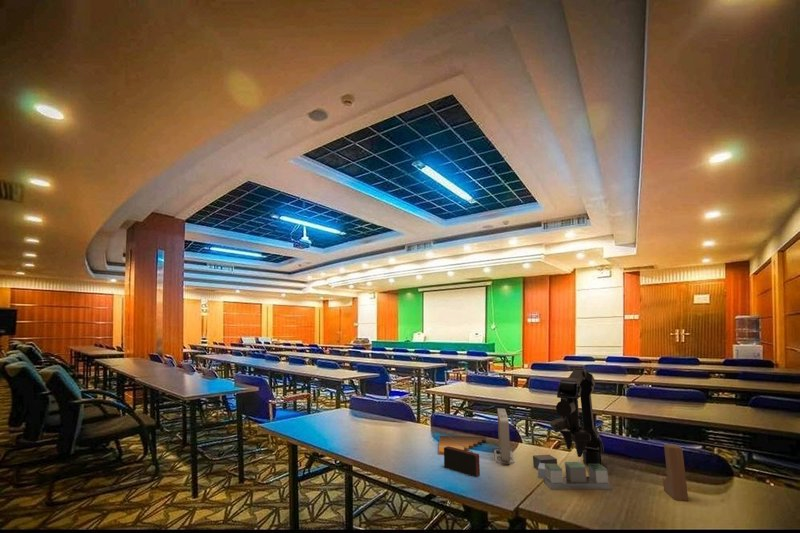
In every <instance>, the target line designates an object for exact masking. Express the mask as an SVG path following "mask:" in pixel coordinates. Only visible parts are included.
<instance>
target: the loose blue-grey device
mask: <svg viewBox="0 0 800 533" xmlns="http://www.w3.org/2000/svg"><path fill="white" fill-rule="evenodd" d="M537 477H538V479H542V478H543V479H542V480H544V477H545V463H539V466H538V470H537Z"/></svg>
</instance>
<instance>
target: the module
mask: <svg viewBox="0 0 800 533" xmlns="http://www.w3.org/2000/svg"><path fill="white" fill-rule="evenodd" d="M564 466H565V467H564V469H565V477H566V478H567V479H568V480H569V481H570V482H586V477H587V473H586V472H587V471H586V465H585V464H584V463H582V462H581V461H564Z"/></svg>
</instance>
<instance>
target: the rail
mask: <svg viewBox="0 0 800 533" xmlns="http://www.w3.org/2000/svg"><path fill="white" fill-rule="evenodd" d="M587 467H588V469H587V470H588V476H586V482H570V481H569V480H568V479H567V478H566V476H563V468H561V466H560V465H558V463H557V464H545V477H544V479H543V483H544V484H545V485H546V487H549V489H550V490H612V489H611V483H610V482H609V475H608V474H609V473H608V469H607V468H606V467H605V466H602V465H601V464H588V466H587Z"/></svg>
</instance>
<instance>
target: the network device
mask: <svg viewBox="0 0 800 533" xmlns="http://www.w3.org/2000/svg"><path fill="white" fill-rule="evenodd" d="M496 410H497V434H498V446H499V448H496V449H494V450H493V455H494V461H495V463H498V464H506V465H513V464H515V462H516V460H515V458H514V454H513V451H512V450H511V448H510V447H511V445H510V424H509V423H510V421H509V418H508V414H507V411H506V409H505V408H496ZM497 452H499V453H497ZM498 458H500V459H501V460H498Z"/></svg>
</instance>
